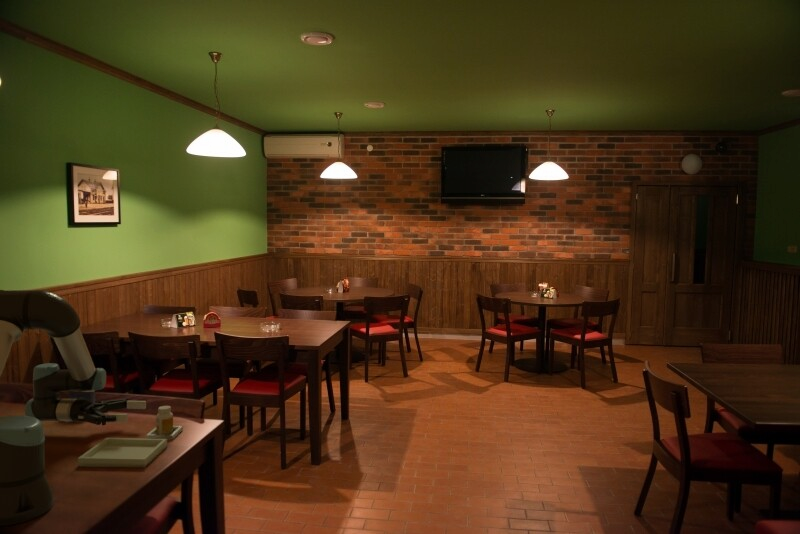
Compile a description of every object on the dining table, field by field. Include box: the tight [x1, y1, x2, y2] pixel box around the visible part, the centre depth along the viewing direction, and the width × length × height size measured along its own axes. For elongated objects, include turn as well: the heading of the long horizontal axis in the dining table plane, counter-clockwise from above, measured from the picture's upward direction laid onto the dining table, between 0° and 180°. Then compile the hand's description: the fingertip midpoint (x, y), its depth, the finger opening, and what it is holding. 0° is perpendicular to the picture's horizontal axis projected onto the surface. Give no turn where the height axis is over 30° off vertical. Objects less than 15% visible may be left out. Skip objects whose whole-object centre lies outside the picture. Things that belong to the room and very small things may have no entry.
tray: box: [77, 437, 168, 468], centre depth 172 cm, size 16×20×2 cm
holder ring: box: [145, 425, 184, 441], centre depth 190 cm, size 9×9×2 cm
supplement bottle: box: [155, 405, 174, 434], centre depth 190 cm, size 5×5×10 cm
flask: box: [68, 390, 96, 404], centre depth 208 cm, size 10×3×12 cm, turn 88°
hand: (136, 411), depth 190 cm, fingers open, 13 cm apart
